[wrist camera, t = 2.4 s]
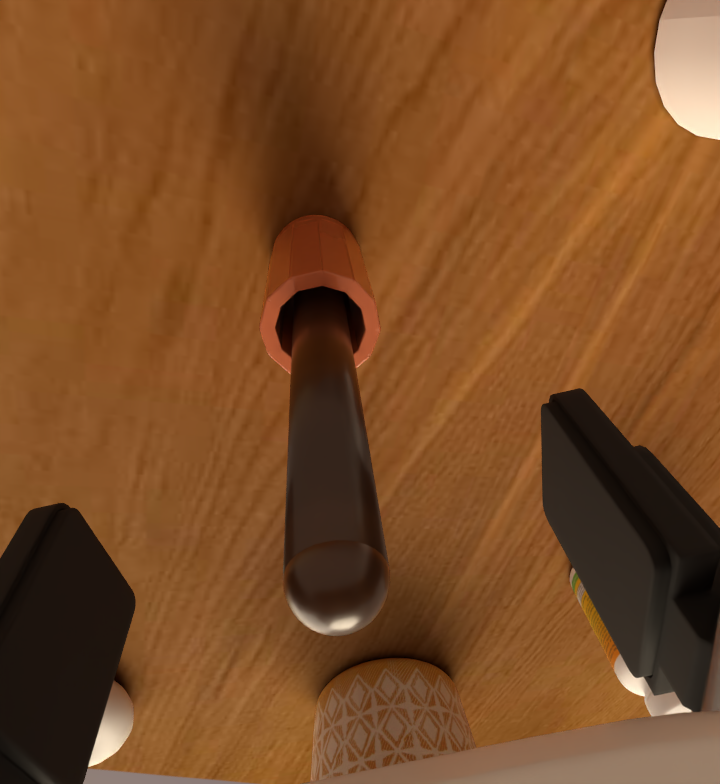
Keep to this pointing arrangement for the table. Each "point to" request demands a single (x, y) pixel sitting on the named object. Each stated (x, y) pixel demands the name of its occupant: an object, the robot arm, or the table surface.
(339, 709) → the planter
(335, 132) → the table surface
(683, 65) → the cup
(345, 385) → the stick
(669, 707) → the supplement bottle
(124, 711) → the donut
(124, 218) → the table surface
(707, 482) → the table surface
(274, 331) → the holder
